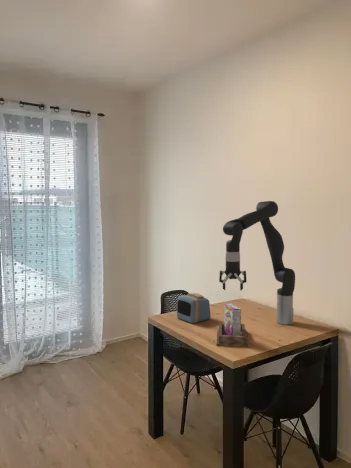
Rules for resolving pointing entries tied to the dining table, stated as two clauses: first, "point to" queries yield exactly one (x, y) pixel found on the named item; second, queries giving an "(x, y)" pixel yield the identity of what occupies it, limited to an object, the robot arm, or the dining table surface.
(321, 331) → the dining table surface
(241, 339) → the walnut slot stand
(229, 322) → the candy bar box
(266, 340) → the dining table surface
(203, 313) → the alarm clock
